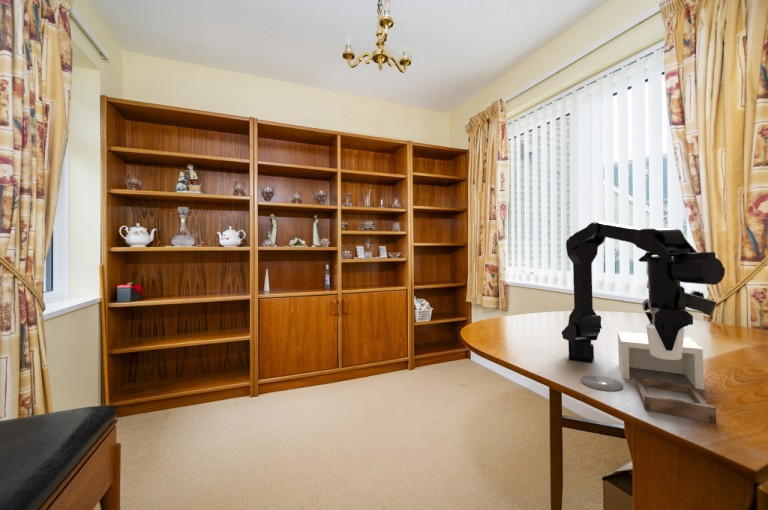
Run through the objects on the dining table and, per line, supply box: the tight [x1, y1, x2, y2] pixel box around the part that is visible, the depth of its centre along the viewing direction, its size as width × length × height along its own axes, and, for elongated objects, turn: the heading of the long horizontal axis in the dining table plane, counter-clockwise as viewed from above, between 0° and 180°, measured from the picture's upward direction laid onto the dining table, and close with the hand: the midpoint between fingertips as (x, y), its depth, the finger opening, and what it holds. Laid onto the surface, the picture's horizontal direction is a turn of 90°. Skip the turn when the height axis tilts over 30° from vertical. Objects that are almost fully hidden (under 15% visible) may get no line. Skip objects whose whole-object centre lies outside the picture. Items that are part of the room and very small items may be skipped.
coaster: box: [580, 374, 624, 392], centre depth 83 cm, size 9×9×1 cm
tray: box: [635, 377, 717, 424], centre depth 73 cm, size 11×16×3 cm
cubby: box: [617, 331, 705, 391], centre depth 87 cm, size 16×12×10 cm
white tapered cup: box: [645, 323, 685, 360], centre depth 76 cm, size 7×7×7 cm
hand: (666, 346), depth 76 cm, fingers closed on white tapered cup, 6 cm apart
